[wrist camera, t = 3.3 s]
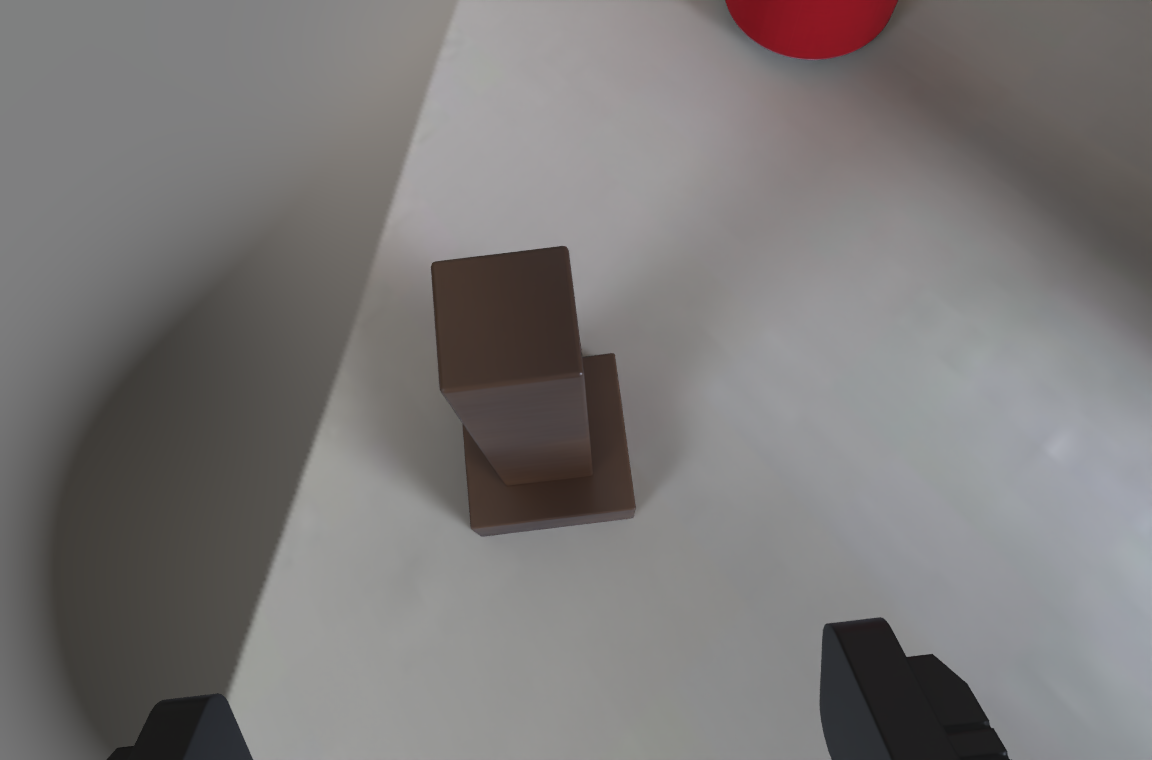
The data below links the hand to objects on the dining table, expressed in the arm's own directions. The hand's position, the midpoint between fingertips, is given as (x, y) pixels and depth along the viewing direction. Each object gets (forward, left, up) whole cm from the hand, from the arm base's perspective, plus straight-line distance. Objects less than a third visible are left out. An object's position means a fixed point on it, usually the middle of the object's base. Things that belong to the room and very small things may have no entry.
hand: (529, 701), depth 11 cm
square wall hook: (+2, +6, -14) cm, 16 cm away
